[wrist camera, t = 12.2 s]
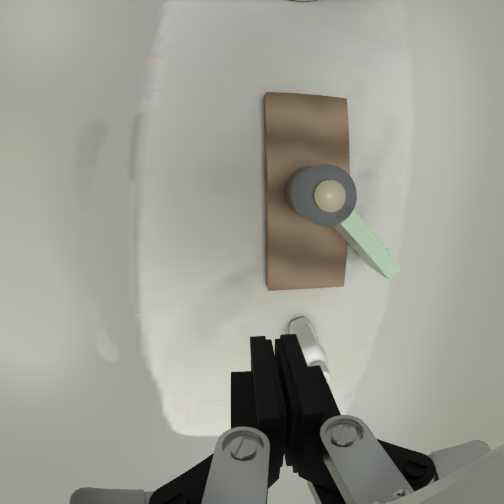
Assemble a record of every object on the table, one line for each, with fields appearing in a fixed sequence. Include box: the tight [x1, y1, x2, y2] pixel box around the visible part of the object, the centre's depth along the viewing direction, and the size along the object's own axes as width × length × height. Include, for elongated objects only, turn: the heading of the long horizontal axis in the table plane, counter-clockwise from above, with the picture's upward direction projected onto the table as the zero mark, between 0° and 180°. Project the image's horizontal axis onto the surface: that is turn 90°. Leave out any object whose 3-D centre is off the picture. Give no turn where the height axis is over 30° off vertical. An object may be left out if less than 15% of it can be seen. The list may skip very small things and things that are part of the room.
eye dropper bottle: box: [289, 317, 331, 383], centre depth 33 cm, size 4×6×12 cm
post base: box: [264, 92, 349, 291], centre depth 32 cm, size 24×10×2 cm, turn 1°
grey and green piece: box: [286, 164, 401, 280], centre depth 29 cm, size 15×6×7 cm, turn 47°
